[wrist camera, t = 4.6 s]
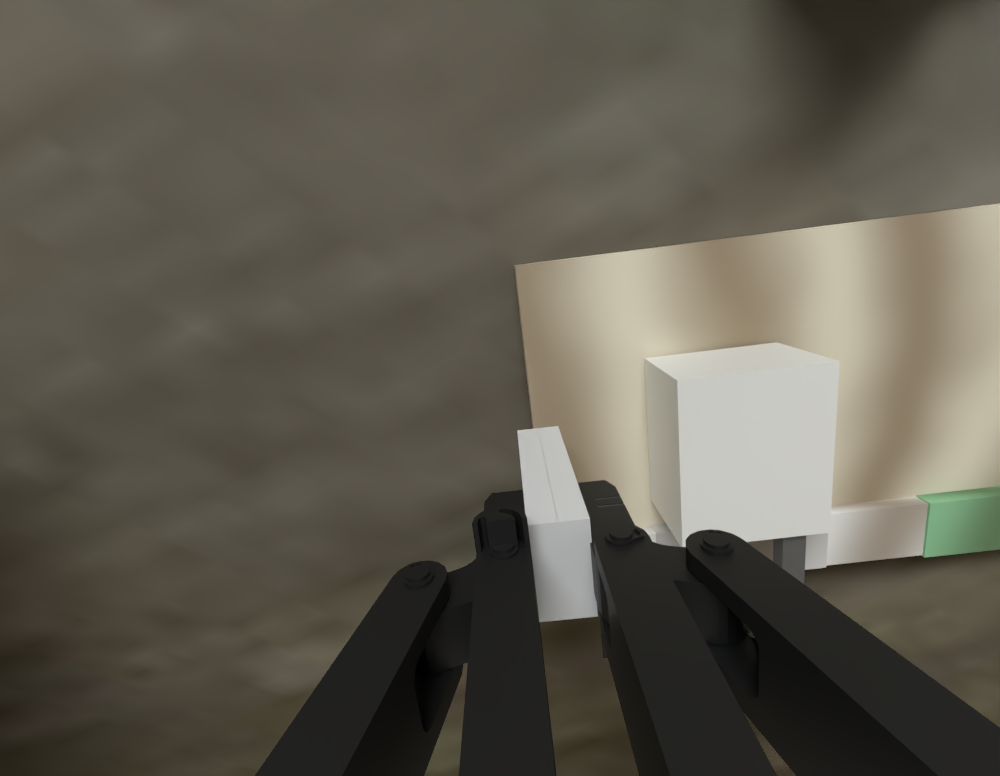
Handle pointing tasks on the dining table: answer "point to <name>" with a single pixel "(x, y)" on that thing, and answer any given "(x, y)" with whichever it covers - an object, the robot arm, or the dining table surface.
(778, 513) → the white rectangular block
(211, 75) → the dining table surface
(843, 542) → the board
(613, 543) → the robot arm
